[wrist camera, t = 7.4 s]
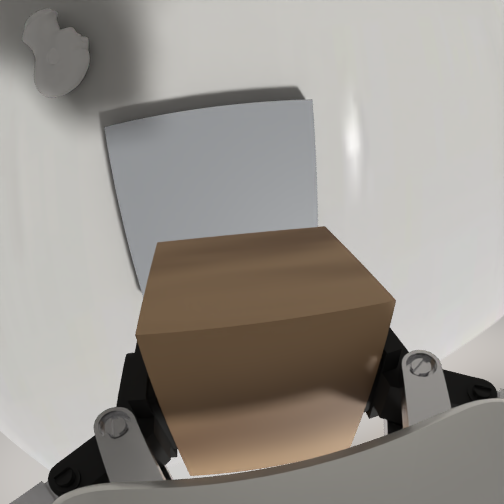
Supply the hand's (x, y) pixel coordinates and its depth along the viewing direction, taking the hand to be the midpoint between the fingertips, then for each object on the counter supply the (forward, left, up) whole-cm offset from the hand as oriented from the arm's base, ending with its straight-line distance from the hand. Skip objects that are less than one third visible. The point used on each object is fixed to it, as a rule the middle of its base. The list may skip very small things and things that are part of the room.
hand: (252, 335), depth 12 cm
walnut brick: (0, 0, -1) cm, 1 cm away
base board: (0, 0, -17) cm, 17 cm away
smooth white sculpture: (-16, -11, -17) cm, 26 cm away
